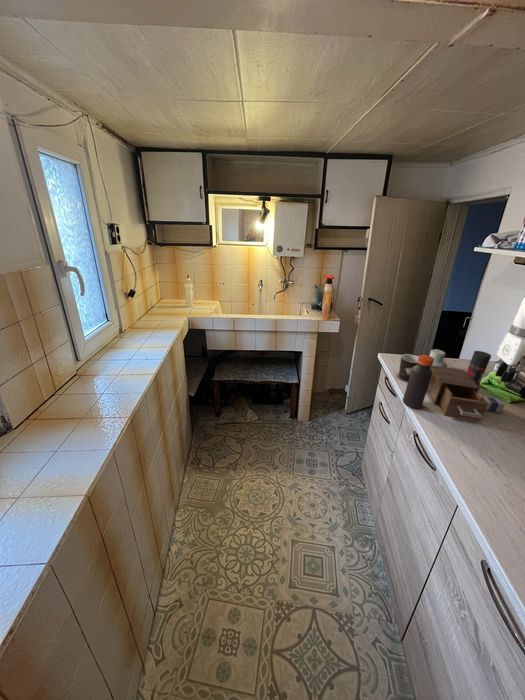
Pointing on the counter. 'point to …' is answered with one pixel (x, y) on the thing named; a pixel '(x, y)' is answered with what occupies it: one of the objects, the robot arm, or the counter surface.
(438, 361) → the air freshener
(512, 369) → the robot arm
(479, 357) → the deodorant
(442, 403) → the drawer
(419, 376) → the bottle
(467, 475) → the counter surface
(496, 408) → the striped block
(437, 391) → the cabinet
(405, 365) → the coffee mug
